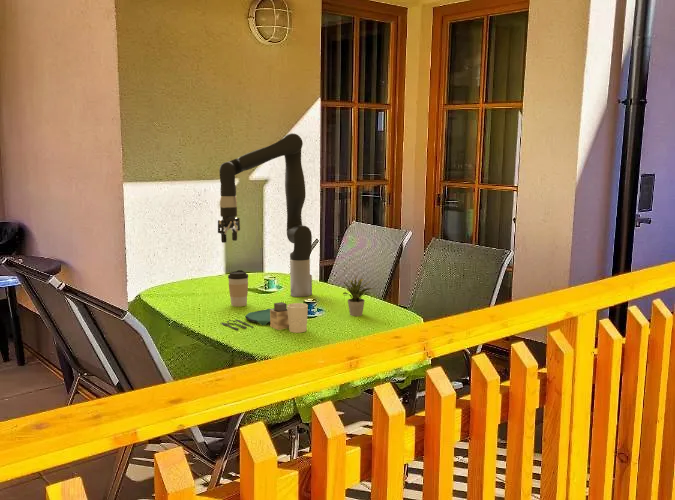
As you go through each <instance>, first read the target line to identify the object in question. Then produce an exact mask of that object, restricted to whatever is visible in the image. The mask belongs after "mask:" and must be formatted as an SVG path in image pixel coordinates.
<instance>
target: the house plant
mask: <svg viewBox="0 0 675 500" xmlns="http://www.w3.org/2000/svg"><path fill="white" fill-rule="evenodd" d="M363 280H364V278H360V279H359V280H358V282H357V277H355V278H354V282H353V281H352V280H350V279H349V280H347V281H348V282H350V285H351V286H350V285H349V284H348V282H347V281H341V283H343V284H344V285H345V286H346V287H347V288H346V291H348V292H343V293H342V295H343V297H344V296H346V295H348V296H349V297H350V298H348V299H347V304H348V309H349V315H350V317H351V316H352V317H360V316H363V311H364V307H365V299H364V298H362V297H364V296H370V295H372V293H371V292H370V290H373V289H374V288H373V287H372V288H371V287H366V286H367V285H368V284H369V283H371V280H370V281H367V282H366V283H365V284H362V283H363ZM364 287H366V288H364ZM368 291H369V292H368Z"/></svg>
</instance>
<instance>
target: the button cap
mask: <svg viewBox="0 0 675 500" xmlns="http://www.w3.org/2000/svg"><path fill="white" fill-rule="evenodd" d="M287 305H288V304H287V303H285V302H283V301H281V302H280V301H279V302H274V303H273V309H274V310H277V311H284V310H287Z"/></svg>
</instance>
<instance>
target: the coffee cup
mask: <svg viewBox="0 0 675 500" xmlns="http://www.w3.org/2000/svg"><path fill="white" fill-rule="evenodd" d="M227 279H228V290H229V297H230V306H232V307H244V306H247V305H248V292H249V274H248V273H247V272H246V271H244V270H243V269H242V270H241V269H238V270H236V271H230V273H229V274H228V275H227Z"/></svg>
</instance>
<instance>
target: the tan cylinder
mask: <svg viewBox="0 0 675 500" xmlns="http://www.w3.org/2000/svg"><path fill="white" fill-rule="evenodd" d="M308 307H309V305H308V304H307V303H304V302H303V303H302V302H293V303H288V304H287V311H288V324H289V328H288V331H289V332H290V333H294V334H296V333H297V334H301V333H305V332H307V327H308V326H307V324H308V312H309V311H308V310H309V309H308Z"/></svg>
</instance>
